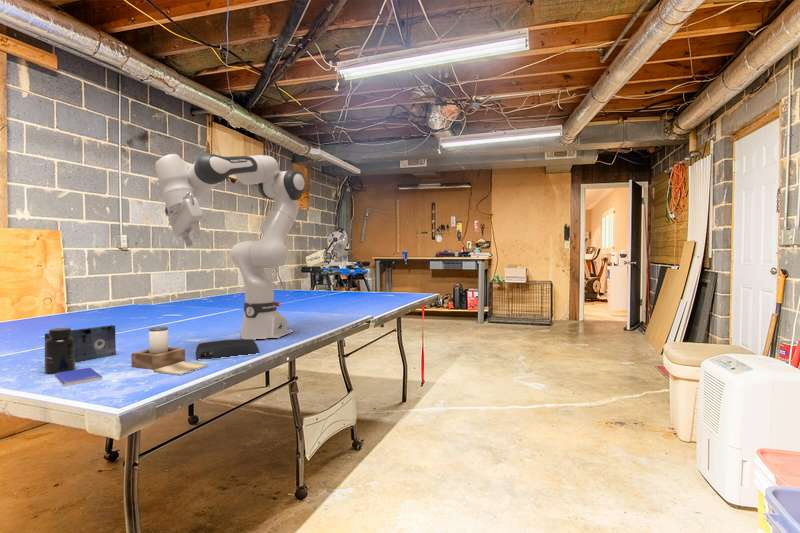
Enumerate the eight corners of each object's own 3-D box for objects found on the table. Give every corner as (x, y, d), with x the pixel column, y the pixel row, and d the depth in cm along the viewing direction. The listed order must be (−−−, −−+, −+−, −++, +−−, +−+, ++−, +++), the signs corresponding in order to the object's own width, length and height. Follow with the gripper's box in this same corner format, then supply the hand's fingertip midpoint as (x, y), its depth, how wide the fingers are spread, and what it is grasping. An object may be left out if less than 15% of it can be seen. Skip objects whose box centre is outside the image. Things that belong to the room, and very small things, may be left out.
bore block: (160, 358, 133) (160, 346, 133) (185, 361, 130) (184, 348, 130) (131, 366, 124) (131, 353, 124) (156, 369, 121) (156, 356, 121)
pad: (182, 363, 128) (182, 361, 128) (208, 366, 125) (208, 364, 125) (153, 372, 119) (153, 370, 118) (180, 375, 115) (180, 373, 115)
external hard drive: (195, 353, 143) (195, 341, 142) (255, 348, 151) (255, 337, 151) (195, 362, 131) (195, 349, 131) (260, 356, 139) (260, 344, 139)
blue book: (102, 375, 112) (91, 367, 120) (63, 382, 105) (54, 372, 114) (102, 381, 112) (91, 372, 120) (63, 388, 106) (54, 378, 114)
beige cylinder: (159, 361, 130) (159, 326, 130) (172, 362, 129) (171, 327, 128) (145, 365, 126) (144, 329, 125) (157, 367, 124) (157, 330, 124)
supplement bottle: (39, 374, 115) (38, 331, 115) (52, 368, 122) (51, 327, 122) (68, 373, 117) (67, 330, 117) (80, 366, 124) (79, 326, 123)
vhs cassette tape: (112, 354, 140) (112, 324, 139) (116, 355, 138) (116, 325, 138) (44, 366, 124) (43, 333, 123) (48, 368, 122) (47, 334, 122)
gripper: (200, 189, 132) (213, 230, 132) (183, 211, 147) (194, 248, 147) (179, 191, 128) (192, 233, 128) (163, 213, 143) (175, 251, 142)
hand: (193, 241), depth 137 cm, fingers open, 8 cm apart
